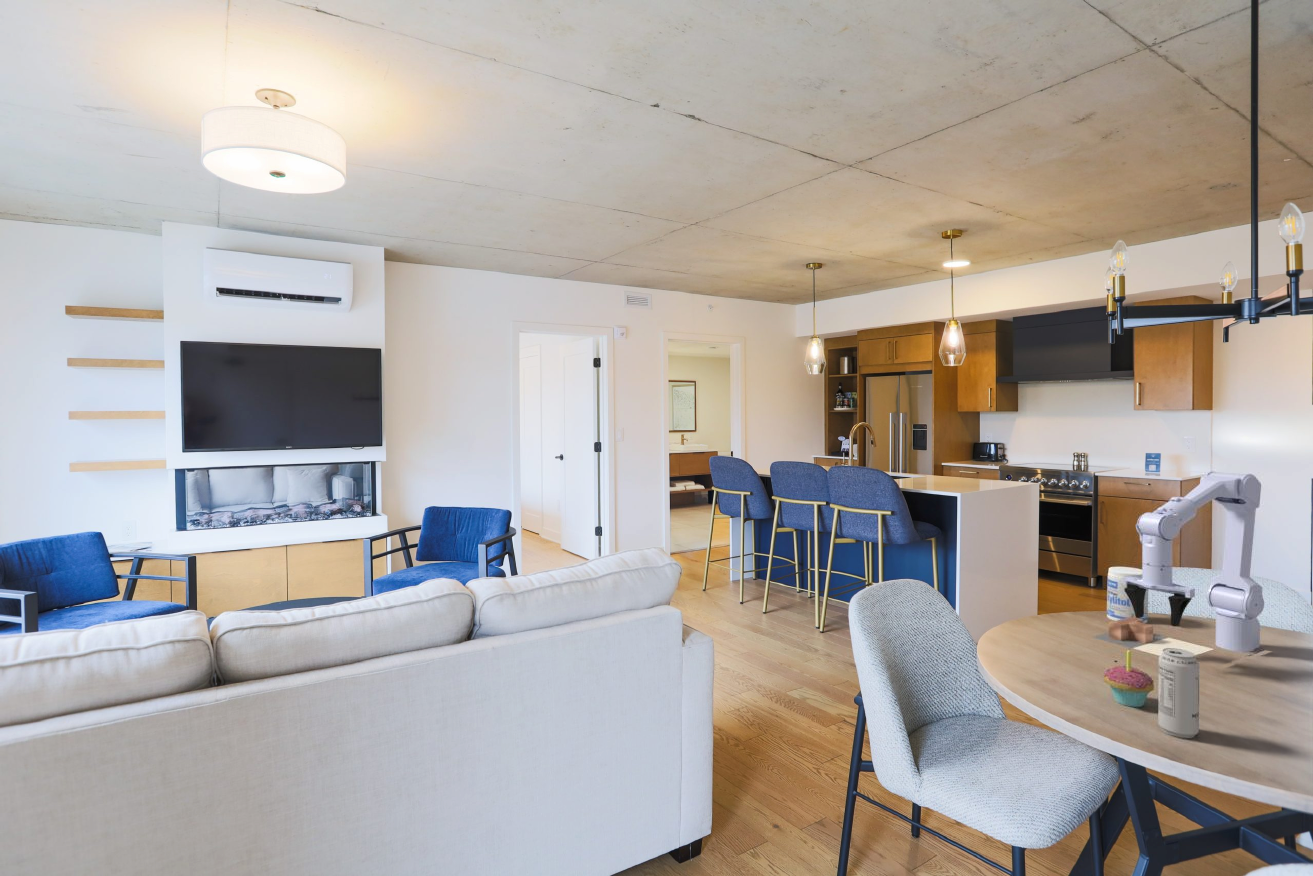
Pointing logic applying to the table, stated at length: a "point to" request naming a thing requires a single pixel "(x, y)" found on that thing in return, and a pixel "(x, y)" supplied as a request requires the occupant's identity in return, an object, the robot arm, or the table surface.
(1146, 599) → the supplement tub
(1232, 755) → the table surface
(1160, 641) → the board
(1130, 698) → the cupcake
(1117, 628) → the t block
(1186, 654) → the energy drink can
